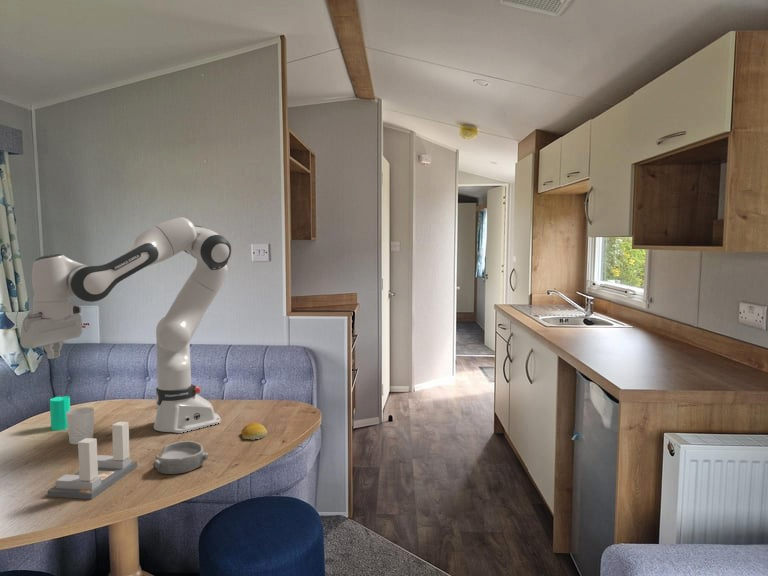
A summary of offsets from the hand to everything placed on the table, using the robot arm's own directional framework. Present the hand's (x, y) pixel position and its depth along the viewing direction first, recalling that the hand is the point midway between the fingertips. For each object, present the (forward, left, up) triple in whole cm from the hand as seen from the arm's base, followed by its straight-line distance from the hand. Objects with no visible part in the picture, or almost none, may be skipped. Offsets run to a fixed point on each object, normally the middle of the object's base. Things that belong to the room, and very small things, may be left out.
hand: (53, 357), depth 153 cm
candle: (-2, -33, -31) cm, 46 cm away
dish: (-30, +22, -32) cm, 49 cm away
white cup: (-7, -15, -31) cm, 35 cm away
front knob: (-6, +27, -27) cm, 39 cm away
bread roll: (-56, +10, -32) cm, 65 cm away
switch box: (-8, +20, -31) cm, 38 cm away
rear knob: (-15, +17, -27) cm, 36 cm away
